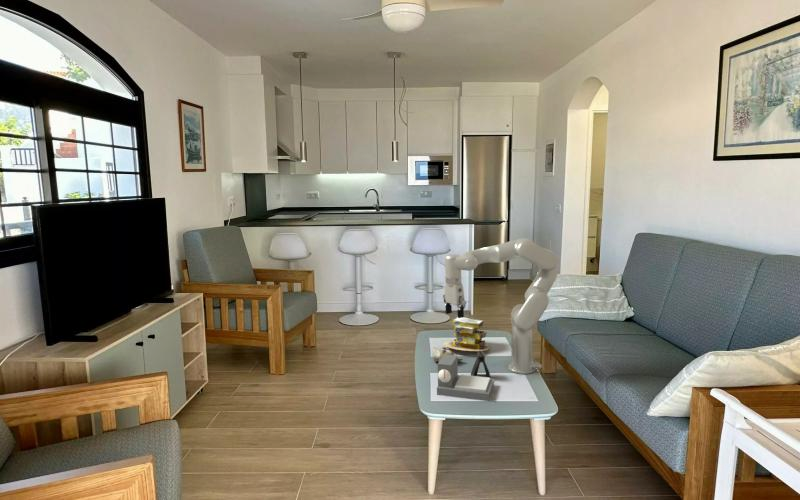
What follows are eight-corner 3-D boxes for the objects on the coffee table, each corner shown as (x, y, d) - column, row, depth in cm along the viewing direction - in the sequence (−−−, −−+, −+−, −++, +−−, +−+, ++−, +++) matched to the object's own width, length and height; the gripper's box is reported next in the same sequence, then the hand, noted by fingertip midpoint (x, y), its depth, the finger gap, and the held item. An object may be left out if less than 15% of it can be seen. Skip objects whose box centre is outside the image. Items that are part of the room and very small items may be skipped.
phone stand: (489, 375, 221) (489, 350, 219) (491, 380, 215) (491, 355, 213) (470, 374, 221) (470, 350, 220) (471, 380, 216) (471, 355, 214)
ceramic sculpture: (438, 341, 244) (464, 348, 235) (438, 356, 246) (463, 364, 237) (427, 347, 235) (453, 354, 227) (426, 363, 237) (452, 371, 228)
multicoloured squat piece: (457, 338, 274) (456, 311, 271) (496, 346, 259) (496, 317, 257) (435, 351, 254) (434, 321, 252) (476, 360, 239) (476, 328, 237)
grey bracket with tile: (494, 385, 209) (494, 357, 208) (488, 401, 194) (488, 370, 193) (445, 379, 217) (445, 352, 215) (436, 394, 202) (436, 365, 200)
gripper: (471, 282, 218) (472, 318, 220) (449, 276, 233) (450, 310, 235) (457, 284, 215) (459, 320, 217) (436, 278, 230) (438, 313, 232)
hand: (454, 315), depth 226 cm, fingers open, 9 cm apart
